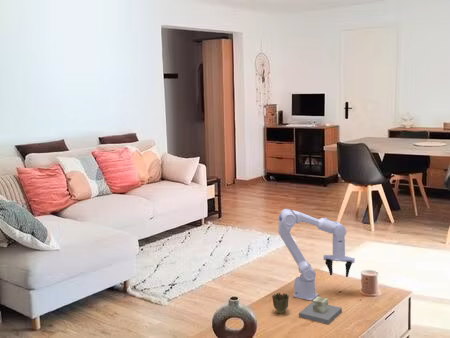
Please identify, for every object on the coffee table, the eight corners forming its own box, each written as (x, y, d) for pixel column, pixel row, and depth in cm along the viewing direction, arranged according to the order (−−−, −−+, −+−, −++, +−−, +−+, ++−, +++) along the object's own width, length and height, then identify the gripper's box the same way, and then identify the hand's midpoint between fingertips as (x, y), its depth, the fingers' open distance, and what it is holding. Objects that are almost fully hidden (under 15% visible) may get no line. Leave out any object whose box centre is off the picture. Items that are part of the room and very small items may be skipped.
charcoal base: (298, 317, 229) (298, 312, 228) (313, 305, 240) (313, 301, 239) (328, 324, 220) (328, 319, 220) (341, 312, 232) (341, 307, 231)
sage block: (312, 311, 229) (312, 300, 229) (317, 306, 233) (317, 296, 233) (323, 313, 226) (323, 302, 226) (328, 309, 230) (327, 298, 230)
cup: (290, 310, 236) (290, 293, 235) (287, 317, 229) (286, 299, 228) (274, 308, 239) (274, 292, 237) (271, 315, 232) (270, 298, 230)
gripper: (321, 249, 247) (322, 276, 249) (352, 252, 241) (352, 280, 243) (325, 245, 253) (325, 271, 256) (355, 247, 247) (355, 275, 249)
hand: (339, 275), depth 250 cm, fingers open, 7 cm apart
